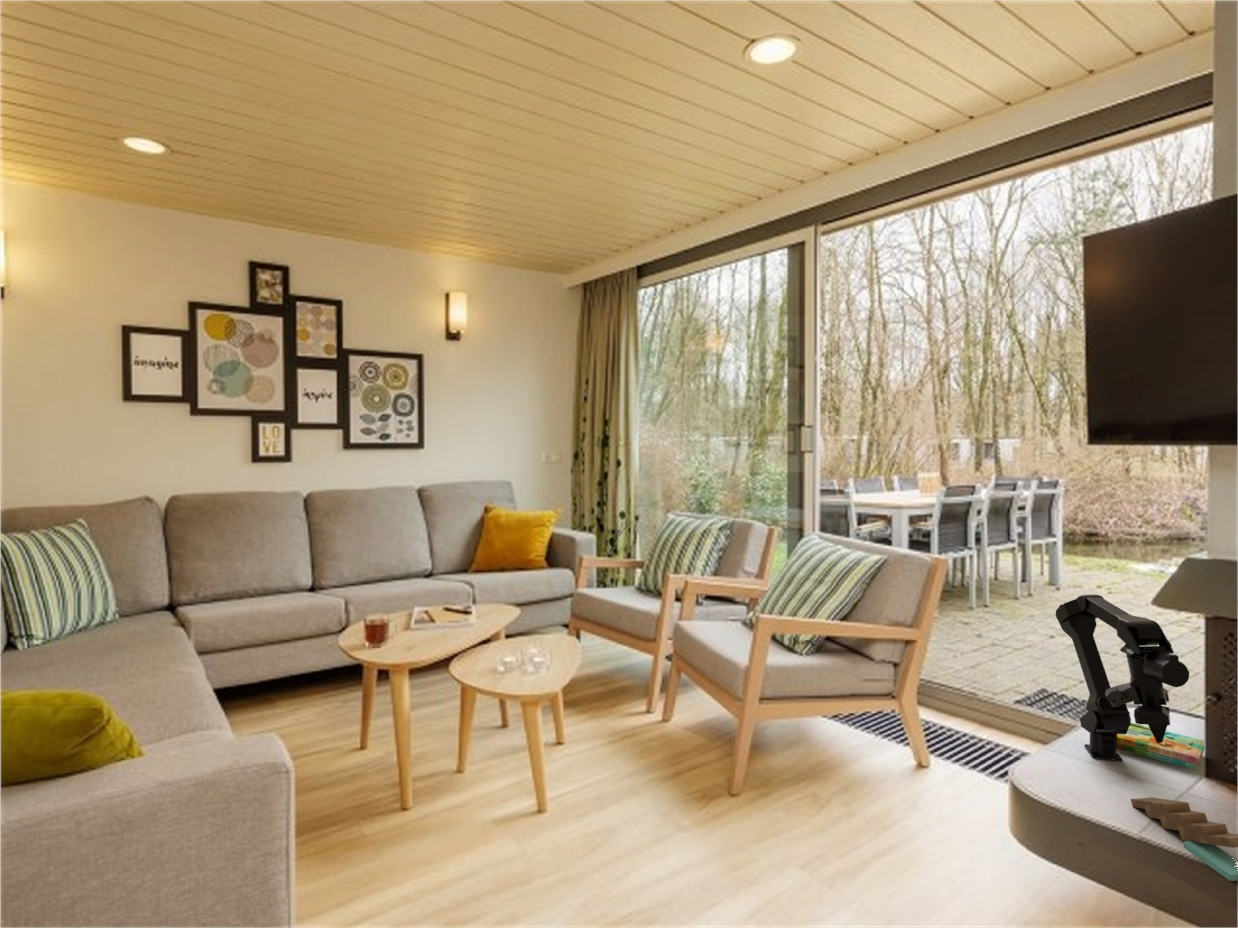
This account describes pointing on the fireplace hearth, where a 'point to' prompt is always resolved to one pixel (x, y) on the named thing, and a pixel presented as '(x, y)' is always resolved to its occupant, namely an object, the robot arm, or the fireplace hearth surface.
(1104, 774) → the fireplace hearth surface
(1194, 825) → the domino
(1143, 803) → the domino
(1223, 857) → the domino
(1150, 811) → the domino
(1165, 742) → the puzzle game
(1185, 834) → the domino
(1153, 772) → the fireplace hearth surface
